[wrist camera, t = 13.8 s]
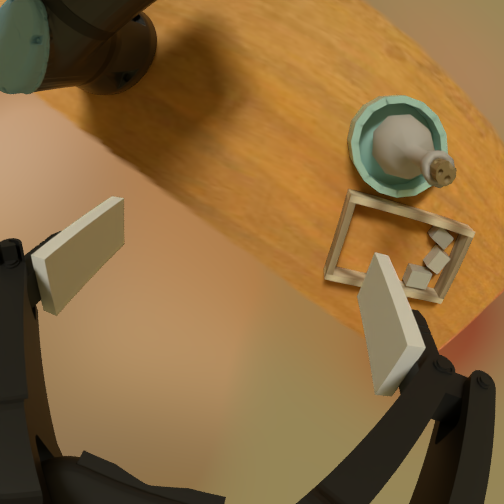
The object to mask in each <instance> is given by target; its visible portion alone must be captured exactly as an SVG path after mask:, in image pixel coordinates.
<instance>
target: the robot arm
mask: <svg viewBox="0 0 504 504" xmlns="http://www.w3.org/2000/svg"><path fill="white" fill-rule="evenodd" d="M155 1H157V0H7V1H6V2H5V3H4V4H3V5H2V6H1V8H0V91H2V92H4V93H7V94H17V93H24V94H31V93H33V92H37V91H43V90H50V89H57V88H64V87H73V86H76V87H78V88H81V89H83V90H85V91H87V92H89V93H92V94H97V95H108V94H116V93H120V92H122V91H125V90H127V89H129V88H130V87H132V86H133V85H134V84H136V83H137V82H138V81H139V80H140V79H141V78H142V77H143V76H144V74H145V73H146V71H147V70H148V68H149V66H150V65H151V62H152V60H153V57H154V54H155V50H156V32H155V28H154V26H153V23H152V21H151V20H150V18H149V17H148V16H147V15H146V14H145V13H144V12H142V11H143V10H145V9H146V8H147V7H148V6H150V5H151V4H152V3H154V2H155ZM123 245H124V198H120V197H114V196H111V197H110V198H108V199H107V200H105V201H104V202H102V203H101V204H99V205H98V206H96V207H95V208H94V209H92V210H91V211H89V212H88V213H86V214H85V215H83V216H82V217H81V218H79V219H78V220H76V221H75V222H74V223H72V224H71V225H70V226H68V227H67V228H65V229H64V230H63V231H59V232H57V233H55V234H52V235H51V236H49V237H48V238H47V239H46V240H45V241H43V242H42V243H40V244H39V245H38V246H36V247H35V248H34V249H32V250H31V251H30V252H28V253H27V254H26V255H25V256H24V253H23V247H22V242H21V241H20V240H19V239H14V238H12V239H6V240H3V241H1V242H0V504H224V502H225V498H226V497H223V496H218V495H214V494H209V493H205V492H201V491H197V490H193V489H189V488H173V487H161V486H151V485H147V484H145V483H143V482H141V481H140V480H138V479H137V478H135V477H134V476H132V475H131V474H129V473H128V472H126V471H125V470H123V469H122V468H120V467H119V466H117V465H116V464H114V463H111V462H109V461H107V460H104V459H102V458H100V457H97V456H95V455H93V454H90V453H88V452H86V451H83V453H82V455H81V457H73V456H62V453H61V451H60V449H59V447H58V444H57V441H56V437H55V433H54V429H53V424H52V420H51V415H50V410H49V405H48V399H47V393H46V387H45V381H44V374H43V366H42V358H41V350H40V338H39V324H38V310H37V307H36V304H37V303H38V302H39V301H40V300H41V301H42V305H43V309H44V311H46V312H49V313H51V314H54V315H56V316H57V315H58V314H59V313H60V312H61V310H62V309H63V308H64V307H65V306H66V305H67V304H68V302H70V300H71V299H72V298H73V297H74V296H75V295H76V294H77V293H78V292H79V290H80V289H81V288H82V287H83V286H84V285H85V284H86V283H87V282H88V281H89V280H90V279H91V278H92V277H93V275H95V273H96V272H97V271H98V270H99V269H100V268H101V267H102V266H103V265H104V264H105V263H106V262H107V261H108V260H109V259H110V258H111V257H112V256H113V255H114V254H115V253H116V252H117V251H118V250H119V249H120V248H121V247H122V246H123ZM357 298H358V303H359V307H360V312H361V317H362V322H363V327H364V332H365V338H366V343H367V349H368V354H369V360H370V366H371V372H372V379H373V384H374V392H375V395H383V396H392V395H393V394H394V393H395V391H396V390H397V388H398V387H399V389H400V394H401V395H400V396H399V398H398V399H397V400H396V401H395V403H394V404H393V405H392V406H391V408H390V409H389V410H388V411H387V412H386V414H385V415H384V416H383V417H382V418H381V420H380V421H379V422H378V423H377V424H376V426H375V427H374V428H373V429H372V430H371V431H370V432H369V433H368V435H367V436H366V437H365V438H364V439H363V440H362V441H361V442H360V443H359V444H358V445H357V446H356V448H355V449H354V450H353V451H352V452H351V453H350V454H349V455H348V456H347V457H346V458H345V459H344V460H343V461H342V462H341V463H340V464H339V465H338V466H337V467H336V468H335V469H334V470H333V471H332V472H331V473H330V474H329V475H328V476H327V477H326V478H324V479H323V480H322V481H321V482H320V483H319V484H318V485H317V486H316V487H315V488H314V489H312V490H311V491H310V492H309V493H308V494H307V495H306V496H304V497H303V498H302V499H301V500H300V501H299V502H298V503H296V504H369V503H370V502H371V501H372V500H373V499H374V498H375V496H376V495H377V494H378V493H379V492H380V490H381V489H382V488H383V487H384V485H385V484H386V483H387V482H388V480H389V479H390V478H391V476H392V475H393V474H394V472H395V471H396V470H397V468H398V467H399V466H400V464H401V463H402V462H403V460H404V459H405V457H406V456H407V455H408V453H409V451H410V450H411V449H412V447H413V446H414V444H415V443H416V441H417V440H418V438H419V436H420V435H421V434H422V432H423V430H424V429H425V427H426V426H427V424H428V422H429V421H430V419H434V420H435V424H434V428H433V432H432V435H431V439H430V443H429V446H428V450H427V453H426V457H425V460H424V463H423V466H422V469H421V472H420V475H419V478H418V481H417V484H416V487H415V490H414V492H413V495H412V498H411V500H410V503H409V504H484V500H485V495H486V489H487V484H488V478H489V471H490V465H491V457H492V448H493V438H494V422H495V395H496V388H495V383H494V381H493V379H492V378H491V377H490V376H489V375H488V374H487V373H485V372H483V371H480V370H476V371H474V372H472V374H471V375H470V376H469V377H468V378H467V377H465V376H462V375H460V374H457V373H455V368H454V366H453V364H452V363H451V362H450V361H449V360H448V359H447V358H446V357H444V356H442V355H439V353H438V350H437V347H436V345H435V342H434V340H433V337H432V335H431V332H430V330H429V328H428V325H427V322H426V320H425V318H424V317H423V316H422V315H421V313H420V312H419V311H418V310H413V309H411V307H410V305H409V302H408V300H407V298H406V295H405V293H404V290H403V288H402V286H401V283H400V281H399V279H398V276H397V274H396V272H395V269H394V267H393V265H392V263H391V260H390V258H389V256H388V255H384V254H380V253H376V252H375V253H374V256H373V258H372V261H371V263H370V266H369V269H368V271H367V274H366V276H365V279H364V281H363V284H362V286H361V288H360V291H359V293H358V296H357Z"/></svg>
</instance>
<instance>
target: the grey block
mask: <svg viewBox="0 0 504 504" xmlns="http://www.w3.org/2000/svg"><path fill="white" fill-rule="evenodd" d="M431 277H432V273H431V272H430V270H429V268H428V267H423V266H419V265H414V264H410V263H408V266H407V268H406V271H405V273H404V276H403V278H402V279H403V281H404V283H405V285H406V286H409V287H414V288H420V289H425V290H426V288H427V285H428V283H429V281H430V279H431Z"/></svg>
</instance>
